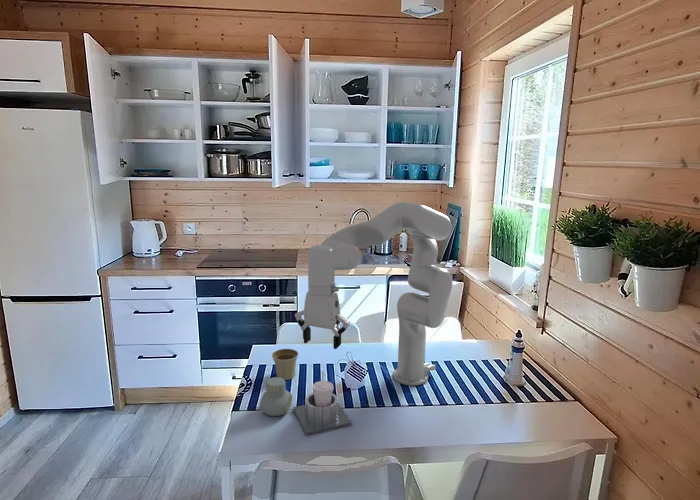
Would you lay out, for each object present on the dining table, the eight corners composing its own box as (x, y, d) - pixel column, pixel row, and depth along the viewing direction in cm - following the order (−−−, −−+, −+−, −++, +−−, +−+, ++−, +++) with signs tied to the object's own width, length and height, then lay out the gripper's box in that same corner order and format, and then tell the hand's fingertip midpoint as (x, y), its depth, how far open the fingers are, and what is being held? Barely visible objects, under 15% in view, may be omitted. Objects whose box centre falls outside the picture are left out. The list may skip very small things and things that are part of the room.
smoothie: (329, 407, 137) (330, 366, 134) (336, 418, 131) (336, 375, 128) (310, 411, 135) (309, 369, 132) (315, 422, 129) (315, 379, 126)
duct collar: (335, 401, 142) (335, 384, 141) (351, 425, 130) (351, 407, 128) (293, 410, 137) (293, 392, 136) (306, 436, 124) (305, 417, 123)
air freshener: (284, 422, 131) (283, 391, 129) (257, 419, 132) (256, 389, 130) (294, 402, 141) (293, 374, 139) (269, 400, 143) (268, 371, 140)
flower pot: (267, 379, 156) (266, 357, 154) (281, 368, 164) (280, 346, 162) (290, 385, 152) (290, 362, 150) (303, 372, 161) (303, 351, 159)
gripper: (354, 288, 125) (353, 344, 129) (301, 281, 131) (302, 335, 135) (343, 296, 118) (343, 355, 122) (288, 288, 125) (289, 344, 128)
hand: (321, 344), depth 128 cm, fingers open, 9 cm apart
